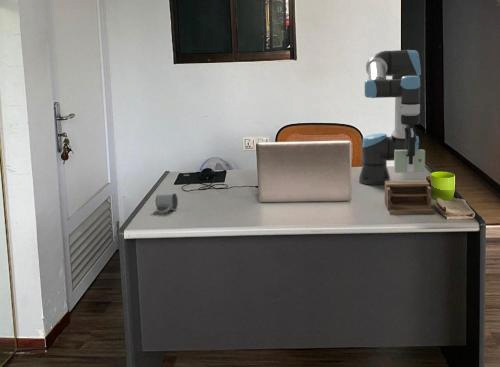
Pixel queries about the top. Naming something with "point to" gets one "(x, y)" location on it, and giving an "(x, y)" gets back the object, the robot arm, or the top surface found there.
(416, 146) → the robot arm
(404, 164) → the pale green box
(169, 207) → the ceramic mug
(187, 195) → the top surface
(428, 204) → the cabinet
